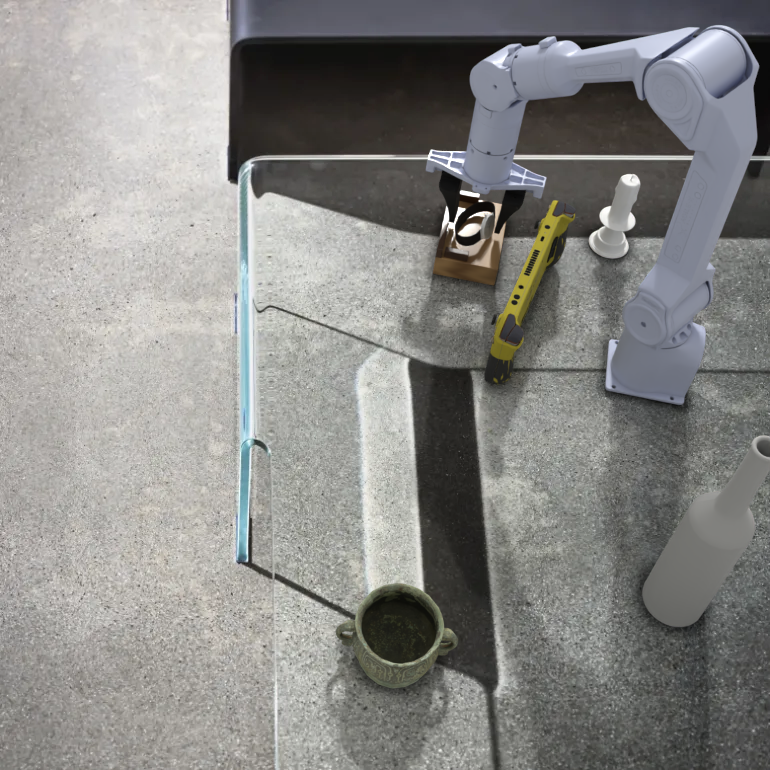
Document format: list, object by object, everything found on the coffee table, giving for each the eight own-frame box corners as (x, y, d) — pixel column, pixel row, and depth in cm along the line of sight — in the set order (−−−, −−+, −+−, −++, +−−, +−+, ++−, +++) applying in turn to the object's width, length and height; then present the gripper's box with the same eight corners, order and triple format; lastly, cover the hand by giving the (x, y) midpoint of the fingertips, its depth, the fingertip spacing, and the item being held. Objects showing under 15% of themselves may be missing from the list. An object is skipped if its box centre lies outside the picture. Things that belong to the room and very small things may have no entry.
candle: (600, 224, 156) (623, 156, 146) (635, 242, 154) (660, 175, 145) (581, 246, 153) (603, 177, 143) (616, 265, 151) (641, 197, 142)
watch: (476, 256, 146) (481, 236, 143) (443, 241, 147) (447, 220, 144) (502, 221, 150) (507, 200, 147) (470, 206, 151) (475, 185, 148)
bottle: (713, 590, 123) (815, 439, 101) (690, 638, 119) (791, 492, 97) (656, 560, 124) (744, 404, 102) (632, 606, 121) (718, 455, 99)
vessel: (453, 617, 118) (462, 588, 113) (452, 699, 113) (461, 672, 108) (336, 606, 118) (340, 576, 113) (329, 688, 112) (333, 661, 107)
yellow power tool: (532, 247, 152) (548, 190, 144) (563, 257, 151) (580, 201, 143) (471, 386, 137) (484, 331, 129) (505, 398, 136) (520, 344, 128)
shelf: (505, 221, 154) (511, 196, 151) (494, 285, 147) (500, 261, 143) (446, 210, 155) (450, 185, 151) (432, 273, 147) (436, 248, 144)
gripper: (425, 146, 135) (413, 230, 146) (547, 175, 134) (525, 258, 144) (439, 110, 139) (425, 193, 150) (556, 138, 138) (535, 220, 149)
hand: (475, 223), depth 147 cm, fingers open, 5 cm apart
